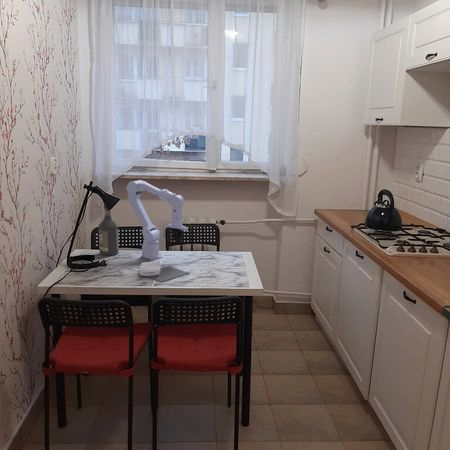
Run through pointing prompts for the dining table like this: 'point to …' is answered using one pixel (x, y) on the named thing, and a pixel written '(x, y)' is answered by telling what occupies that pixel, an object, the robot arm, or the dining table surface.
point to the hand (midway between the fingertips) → (177, 242)
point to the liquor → (108, 235)
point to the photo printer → (150, 269)
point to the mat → (168, 274)
